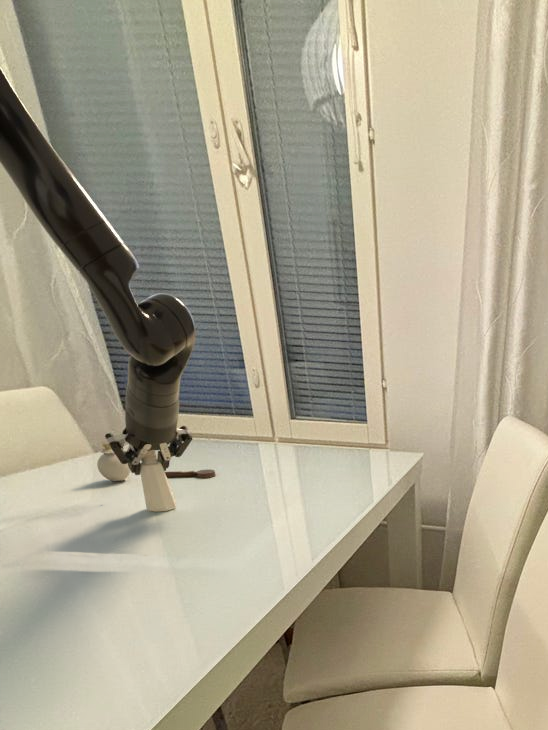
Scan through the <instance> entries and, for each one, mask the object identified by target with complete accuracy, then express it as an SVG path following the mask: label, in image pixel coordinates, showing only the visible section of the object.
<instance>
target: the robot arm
mask: <svg viewBox="0 0 548 730" xmlns="http://www.w3.org/2000/svg"><path fill="white" fill-rule="evenodd" d="M0 164H1V166H2V168H3V169H4V170H5V172H6V173H7V174H8V176H9V177H10V179H11V180H12V182H13V184H14V185H15V187H16V188H17V190H18V191H19V193H20V194H21V196H22V198H23V199H24V201H25V203H26V204H27V206H28V207H29V209H30V210H31V212H32V213H33V215H34V216H35V218H36V219H37V220H38V222H39V224H40V225H41V226H42V228H43V229H44V230H45V232H46V233H47V235H48V236H49V237H50V239H51V240H52V241H53V242H54V243H55V244H56V246H57V247H58V249H60V251H61V252H62V254H63V255H64V256H65V258H67V259H68V261H69V262H70V264H71V265H72V267H74V268H75V269H76V271H78V273H79V275H80V276H81V278H83V279H84V280H85V281H86V283H87V285H88V287H89V289H90V290H91V292H92V294H93V296H94V298H95V300H96V302H97V303H98V305H99V308H101V311H102V312H103V314H104V316H105V318H106V320H107V322H108V324H109V326H110V327H111V330H112V331H113V334H114V336H115V337H116V338H117V340H118V342H119V343H120V345H121V346H122V348H123V349H124V350H125V351H126V352H127V353H128V354H129V355H130V356H129V359H128V363H127V385H126V389H125V409H124V410H125V413H124V415H125V417H124V420H125V421H124V422H125V423H124V424H125V427H124V429H123V430H122V433H120V434H118V435H114V434H113V433H111V432H109V433H107V434H106V433H105V435H104V437H105V440H106V442H108V443H109V445H110V447H111V449H112V450H113V452H114V453H115V455H116V456H117V458H118V459H119V460H120V462H121V463H122V464H127V463H128V467H129V469H130V473H131V474H134V475H135V476H141V474H140V466H141V464H140V463H141V462H142V461H141V459H142V458H144V457H145V455H146V454H147V452H148V451H151V450H155V451H157V455H156V459H157V461H159V462H161V464H162V466H163V469H164V472H167V469H168V468H169V467H170V463H171V460H172V458H173V457H175V458H180V457H182V455H184V453H185V451H186V449H188V447H189V445H190V444H191V442H192V441H193V437H192V434H191V433H190V431H189V429H188V426H187V425H182V426H180V427H179V428H178V420H179V413H180V389H181V378H182V375H183V373H184V371H185V370H186V367H187V365H188V363H189V360H190V358H191V355H192V353H193V351H194V347H195V344H196V339H197V333H196V332H197V329H196V324H195V320H194V317H193V316H192V313H191V312H190V309H189V308H188V307H187V306H186V305H185V304H184V302H182V301H181V300H180V299H179V298H178V297H176V296H174V295H172V294H170V293H169V294H168V293H162V292H161V293H155V294H152V295H150V296H148V297H147V298H145V299H144V300H142V301H140V302H139V303H138V302H137V301H136V299H135V296H134V294H133V292H132V289H131V283H132V281H133V280H134V279H136V277H137V275H138V273H139V270H140V265H139V263H138V261H137V259H136V258H135V255H134V254H133V253H132V251H131V250H130V248H129V247H128V245H126V244H125V242H124V240H123V239H122V238H121V236H120V235H119V234H118V232H117V230H115V228H114V226H113V225H112V224H111V223H110V221H109V220H108V219H107V218H106V216H105V214H104V213H103V212H102V211H101V209H100V208H99V207H98V206H97V204H96V202H95V201H94V200H93V199H92V197H91V196H90V195H89V193H88V192H87V191H86V190H85V188H84V187H83V186H82V184H81V183H80V182H79V181H78V179H77V178H76V177H75V175H74V174H73V172H72V171H71V170H70V169H69V167H68V166H67V164H65V162H64V161H63V159H62V158H61V157H60V155H59V154H58V153H57V151H56V150H55V149H54V147H53V146H52V145H51V143H50V142H49V141H48V139H47V137H46V136H45V134H44V133H43V132H42V131H41V129H40V127H39V126H38V124H37V123H36V122H35V120H34V118H33V117H32V115H31V114H30V112H29V111H28V109H27V108H26V107H25V105H24V103H23V102H22V100H21V99H20V97H19V95H18V94H17V92H16V91H15V89H14V87H13V85H12V84H11V81H9V79H8V77H7V75H6V74H5V72H4V71H3V69H2V67H1V66H0ZM125 443H127V444H128V447H127V450H124V449H125V448H124V447H125Z"/></svg>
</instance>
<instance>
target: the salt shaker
mask: <svg viewBox="0 0 548 730" xmlns="http://www.w3.org/2000/svg"><path fill="white" fill-rule="evenodd" d="M140 464H141V466H140V479H141V484H142V490H143V496H144V497H143V498H144V502H145V508H146V510H147V511H149V512H154V513H156V512H157V513H158V512H167V511H170V510H174V509H177V505H178V504H177V501H176V499H175V496H174V493H173V490H172V488H171V485H170V483H169V480H168V477H166V474H165V472H166V471H164V469H163V466H162V464H161V462H159V461H157V454H156V450H151V451H148V452H147V454H146V455H145V457H144V458H142V459H141V461H140Z"/></svg>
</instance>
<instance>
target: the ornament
mask: <svg viewBox="0 0 548 730" xmlns="http://www.w3.org/2000/svg"><path fill="white" fill-rule="evenodd" d="M106 434H108V433H107V432H105V435H106ZM101 445H102V447H103V448H102V450H100V451H99V452H100V453H102V455H100V456H99V458H98V460H97V463H96V465H97V469H98V472H99V473H100V475H101V476H103V478H105V479H107V480H109V481H112V482H121V481H124V480H126V479H127V478H128V477H129V475H130V473H131V471H130V469H129V467H128V463H127V464H122V463H121V462H120V460H119V459H118V458H117V456H116V455H115V453H114V452H113V450H112V449H111V447H110V445H109V443H108V441H104V442H101Z"/></svg>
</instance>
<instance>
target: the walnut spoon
mask: <svg viewBox="0 0 548 730" xmlns="http://www.w3.org/2000/svg"><path fill="white" fill-rule="evenodd" d="M164 472H165V474H166V477H167V478H185V477H197V478H199V479H210V478H213V477H214V478H215V477H216V475H217V474H216V471H215V470H214V469H199V470H197V471H195V470H184V471H183V470H182V471H181V470H180V471H164Z"/></svg>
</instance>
